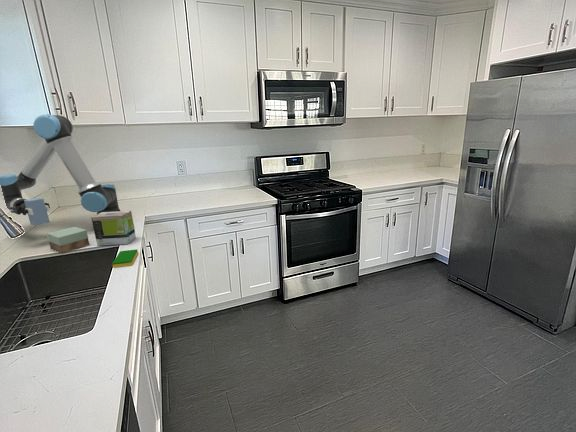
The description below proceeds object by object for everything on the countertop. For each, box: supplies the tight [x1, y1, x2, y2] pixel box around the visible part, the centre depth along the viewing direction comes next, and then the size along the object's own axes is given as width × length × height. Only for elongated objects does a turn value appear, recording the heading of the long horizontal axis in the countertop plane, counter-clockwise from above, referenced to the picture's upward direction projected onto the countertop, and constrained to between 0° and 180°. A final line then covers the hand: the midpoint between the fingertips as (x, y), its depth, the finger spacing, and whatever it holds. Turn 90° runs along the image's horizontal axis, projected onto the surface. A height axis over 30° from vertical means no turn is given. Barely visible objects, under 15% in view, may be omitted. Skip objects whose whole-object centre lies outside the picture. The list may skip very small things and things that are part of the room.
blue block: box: [24, 197, 51, 227], centre depth 154 cm, size 6×6×12 cm
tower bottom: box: [48, 237, 90, 254], centre depth 153 cm, size 12×12×4 cm
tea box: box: [90, 210, 137, 246], centre depth 156 cm, size 15×10×15 cm
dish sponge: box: [111, 249, 139, 268], centre depth 135 cm, size 7×14×2 cm, turn 15°
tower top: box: [46, 226, 89, 246], centre depth 152 cm, size 12×12×4 cm
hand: (40, 210), depth 151 cm, fingers closed on blue block, 6 cm apart
